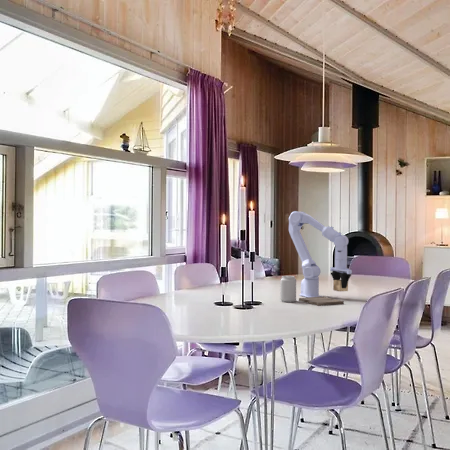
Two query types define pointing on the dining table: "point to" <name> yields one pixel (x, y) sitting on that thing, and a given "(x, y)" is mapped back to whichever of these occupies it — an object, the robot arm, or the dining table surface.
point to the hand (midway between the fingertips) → (340, 287)
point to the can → (288, 289)
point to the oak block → (339, 286)
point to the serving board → (321, 301)
